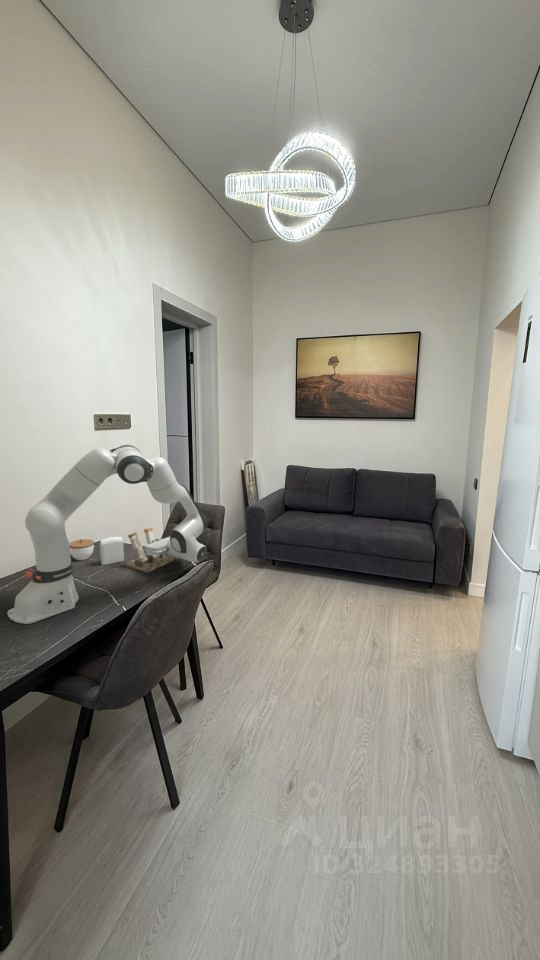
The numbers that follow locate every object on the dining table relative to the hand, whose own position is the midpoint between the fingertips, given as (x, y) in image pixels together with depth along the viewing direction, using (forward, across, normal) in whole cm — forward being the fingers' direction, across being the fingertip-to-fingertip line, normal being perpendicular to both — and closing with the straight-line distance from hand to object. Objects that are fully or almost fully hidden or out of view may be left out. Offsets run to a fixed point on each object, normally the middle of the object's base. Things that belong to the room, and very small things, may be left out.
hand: (154, 540), depth 178 cm
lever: (-1, -1, -8) cm, 8 cm away
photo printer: (+16, -11, -11) cm, 22 cm away
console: (0, -3, -10) cm, 11 cm away
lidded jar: (+33, -16, -11) cm, 38 cm away
